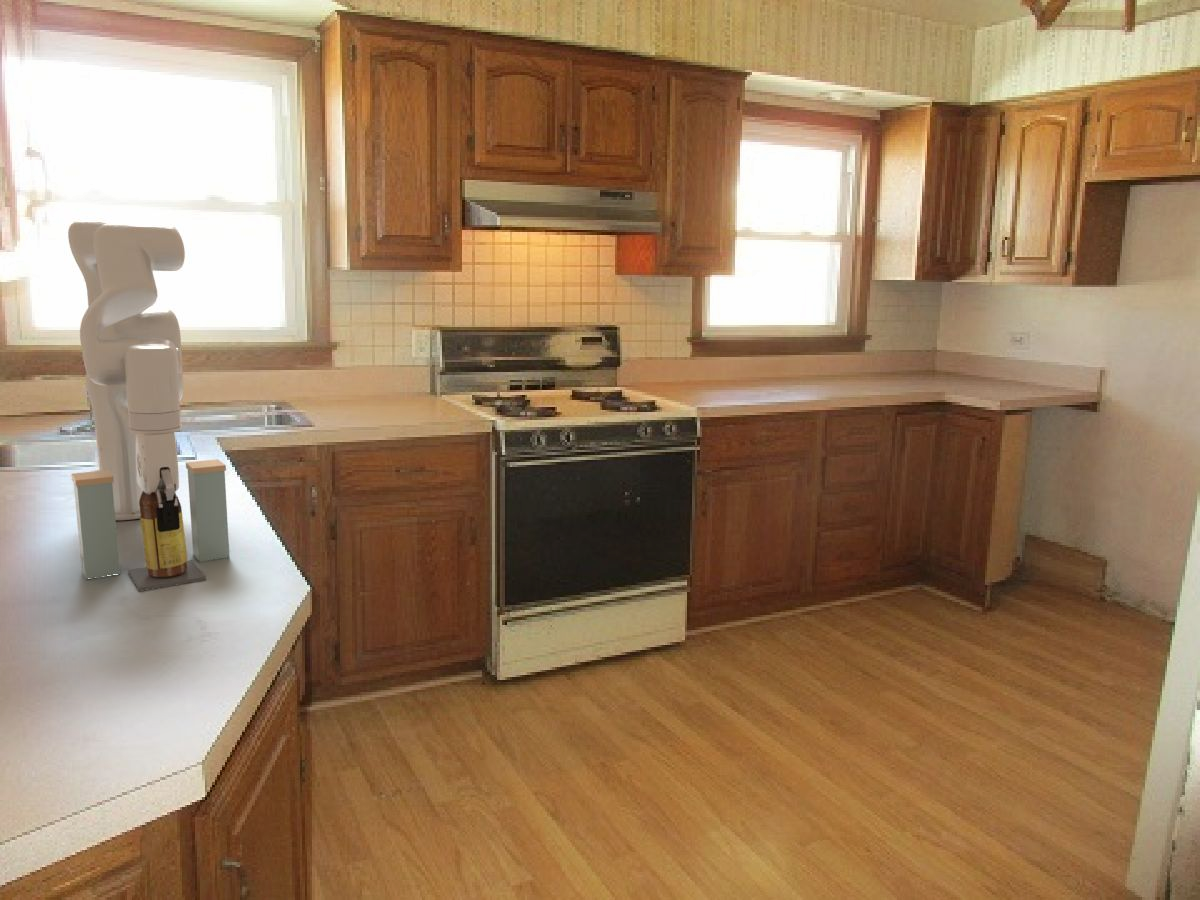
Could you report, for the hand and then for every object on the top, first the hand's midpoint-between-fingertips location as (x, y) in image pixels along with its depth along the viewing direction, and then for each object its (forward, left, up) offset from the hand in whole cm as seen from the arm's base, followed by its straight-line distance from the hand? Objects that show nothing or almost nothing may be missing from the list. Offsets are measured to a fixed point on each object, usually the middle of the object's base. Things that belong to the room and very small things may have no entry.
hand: (162, 522), depth 145 cm
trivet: (0, 0, -9) cm, 9 cm away
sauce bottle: (0, 0, -9) cm, 9 cm away
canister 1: (-7, -9, -9) cm, 15 cm away
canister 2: (-7, +9, -9) cm, 15 cm away
